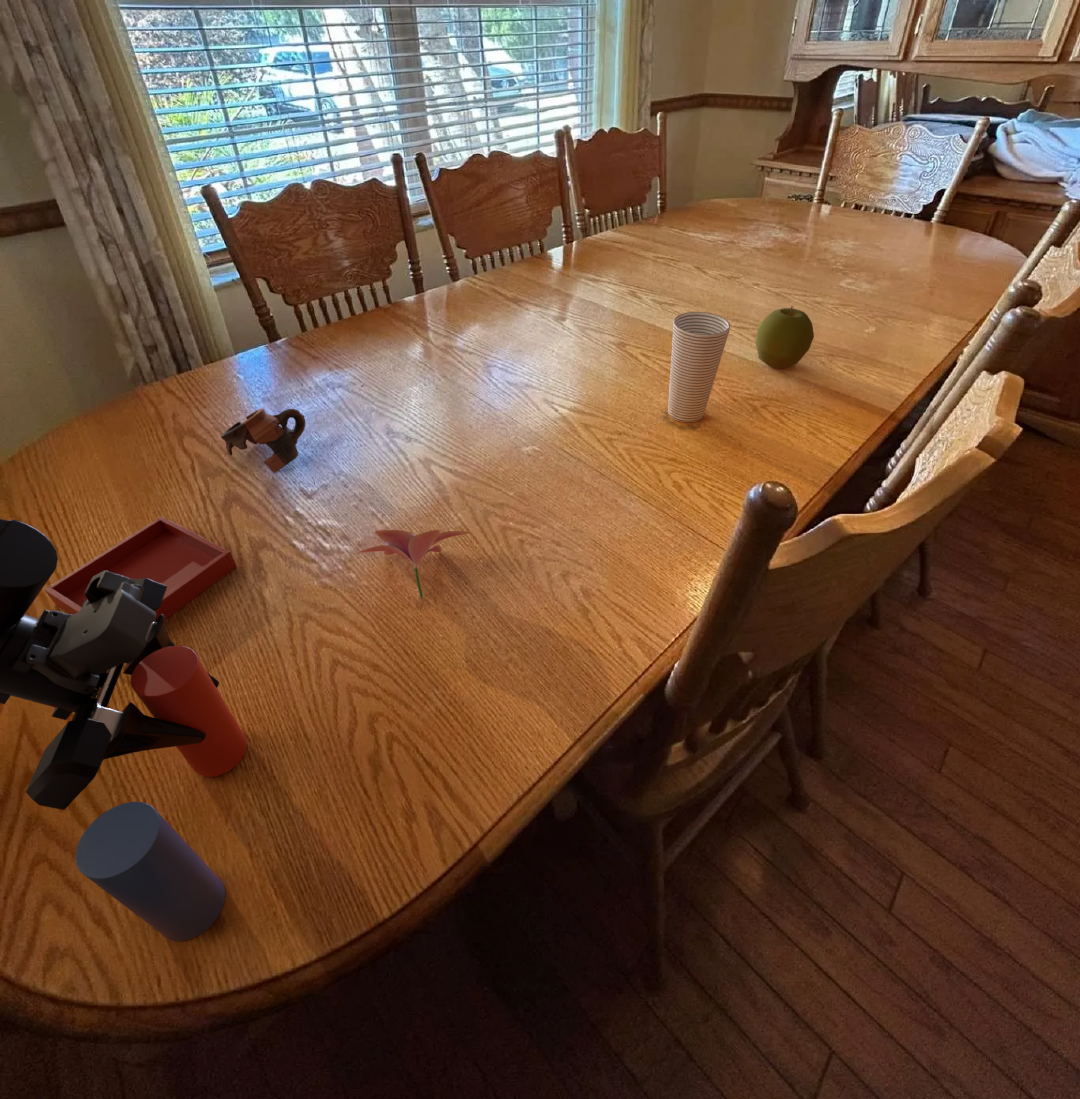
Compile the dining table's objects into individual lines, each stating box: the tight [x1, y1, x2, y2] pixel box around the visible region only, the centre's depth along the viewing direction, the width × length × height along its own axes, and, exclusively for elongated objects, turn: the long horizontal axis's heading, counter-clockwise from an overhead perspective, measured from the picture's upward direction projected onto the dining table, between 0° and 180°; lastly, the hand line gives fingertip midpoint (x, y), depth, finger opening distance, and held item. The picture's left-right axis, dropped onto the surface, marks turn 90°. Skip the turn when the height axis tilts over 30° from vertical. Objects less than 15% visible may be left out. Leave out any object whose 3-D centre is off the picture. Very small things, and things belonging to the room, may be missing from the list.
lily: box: [357, 529, 471, 598], centre depth 75 cm, size 12×12×10 cm
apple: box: [754, 305, 815, 369], centre depth 115 cm, size 10×10×11 cm
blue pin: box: [75, 801, 226, 942], centre depth 46 cm, size 5×5×13 cm
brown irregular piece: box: [220, 408, 306, 474], centre depth 95 cm, size 12×10×8 cm
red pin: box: [130, 645, 248, 778], centre depth 55 cm, size 5×5×13 cm
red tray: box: [43, 515, 238, 622], centre depth 75 cm, size 15×13×3 cm
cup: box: [667, 311, 731, 423], centre depth 100 cm, size 8×8×16 cm
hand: (210, 712), depth 55 cm, fingers closed on red pin, 5 cm apart
